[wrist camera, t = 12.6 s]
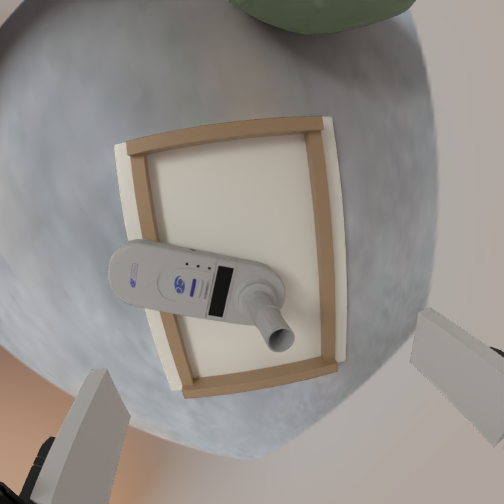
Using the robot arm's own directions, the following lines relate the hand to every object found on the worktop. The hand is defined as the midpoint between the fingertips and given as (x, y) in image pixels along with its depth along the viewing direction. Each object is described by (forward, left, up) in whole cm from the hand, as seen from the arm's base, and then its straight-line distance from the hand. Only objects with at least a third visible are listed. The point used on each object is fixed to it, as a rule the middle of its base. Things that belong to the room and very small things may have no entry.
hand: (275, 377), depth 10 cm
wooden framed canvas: (0, 0, -17) cm, 17 cm away
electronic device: (0, -4, -15) cm, 16 cm away
